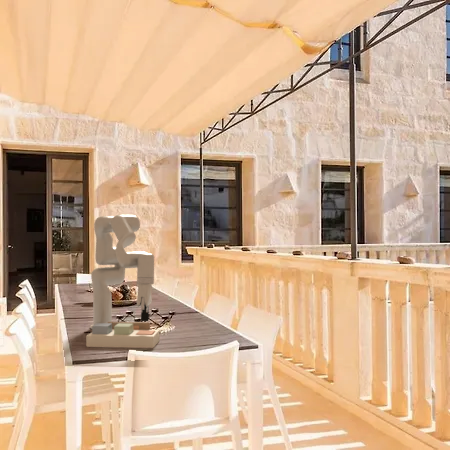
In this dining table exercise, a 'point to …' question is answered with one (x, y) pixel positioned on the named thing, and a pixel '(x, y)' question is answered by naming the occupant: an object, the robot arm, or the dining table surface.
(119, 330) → the key sage
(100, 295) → the robot arm
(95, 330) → the key slate
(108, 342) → the keypad
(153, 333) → the key terracotta
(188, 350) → the dining table surface
